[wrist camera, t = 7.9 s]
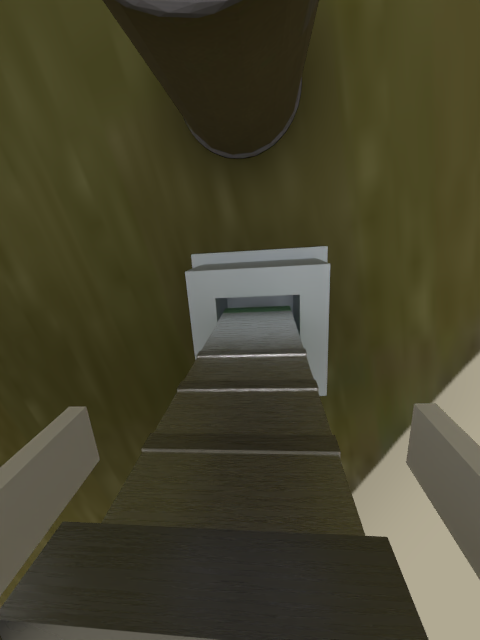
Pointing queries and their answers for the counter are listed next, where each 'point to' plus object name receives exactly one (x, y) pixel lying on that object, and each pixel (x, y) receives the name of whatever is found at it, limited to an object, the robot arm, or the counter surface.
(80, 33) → the counter surface
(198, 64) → the canister
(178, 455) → the column
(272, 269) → the stand base
